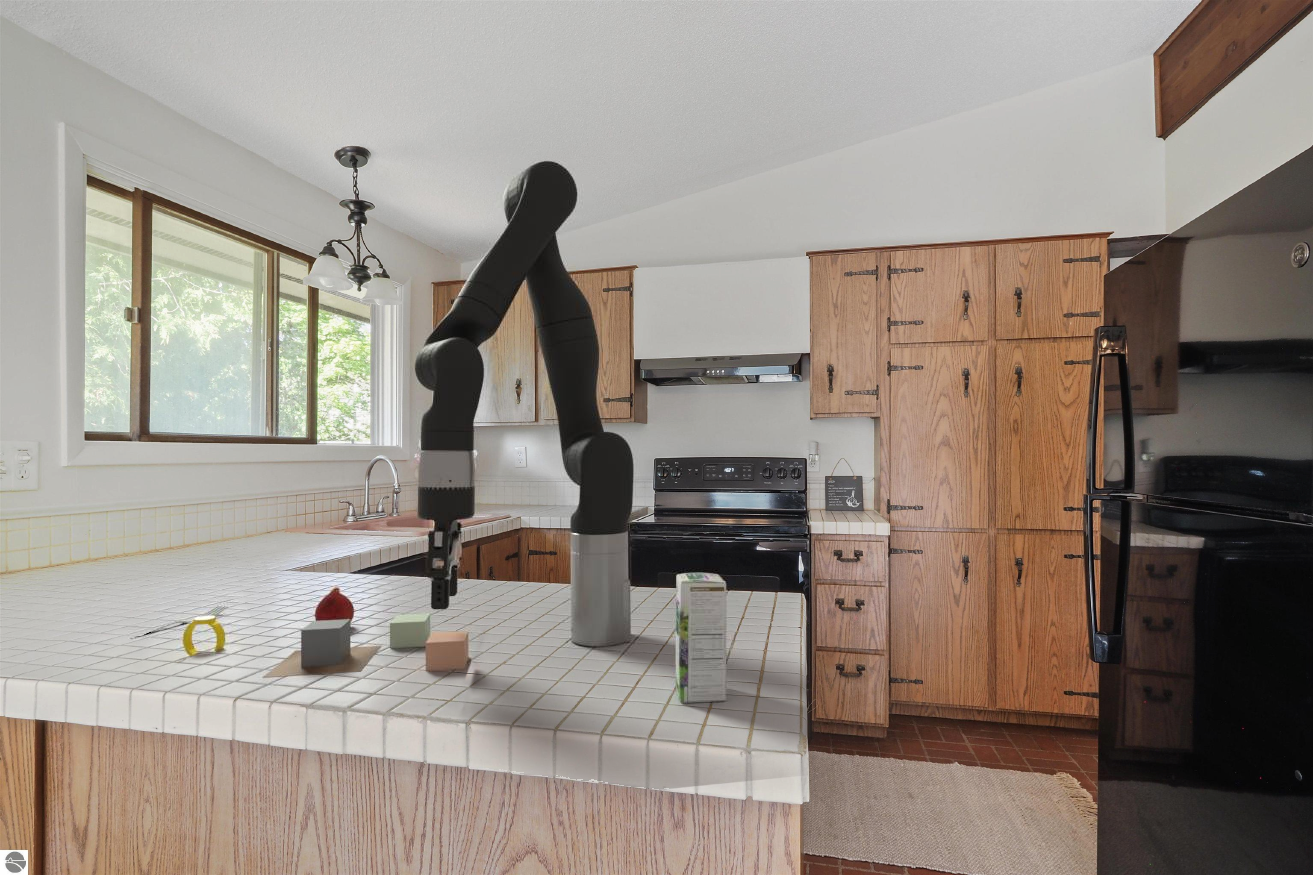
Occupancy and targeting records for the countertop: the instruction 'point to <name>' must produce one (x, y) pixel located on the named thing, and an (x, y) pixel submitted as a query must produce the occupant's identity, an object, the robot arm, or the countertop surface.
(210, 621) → the watch
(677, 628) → the syrup box
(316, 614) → the onion
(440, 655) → the terracotta brick
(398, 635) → the sage brick
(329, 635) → the charcoal brick
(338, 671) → the walnut board
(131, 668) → the countertop surface
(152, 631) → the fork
